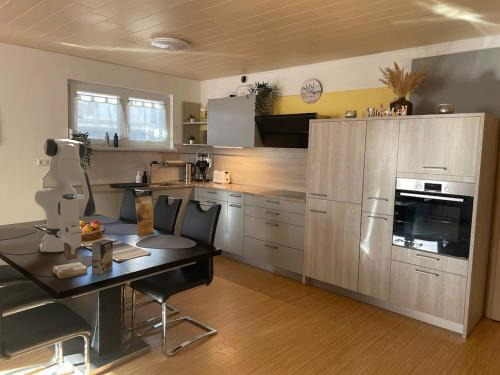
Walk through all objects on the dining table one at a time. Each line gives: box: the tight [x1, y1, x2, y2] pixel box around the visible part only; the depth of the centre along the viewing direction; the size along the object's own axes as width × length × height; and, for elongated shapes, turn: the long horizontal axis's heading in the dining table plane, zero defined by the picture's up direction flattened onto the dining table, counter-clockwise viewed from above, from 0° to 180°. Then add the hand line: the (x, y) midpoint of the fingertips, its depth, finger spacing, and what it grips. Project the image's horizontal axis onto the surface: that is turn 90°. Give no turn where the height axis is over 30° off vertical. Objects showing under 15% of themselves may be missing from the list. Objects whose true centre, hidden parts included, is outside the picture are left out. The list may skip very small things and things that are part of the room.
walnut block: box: [63, 243, 78, 261], centre depth 192 cm, size 5×5×8 cm
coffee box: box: [91, 239, 114, 275], centre depth 197 cm, size 9×6×16 cm
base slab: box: [52, 261, 88, 279], centre depth 193 cm, size 12×13×3 cm
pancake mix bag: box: [134, 195, 154, 236], centre depth 279 cm, size 7×19×28 cm, turn 151°
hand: (70, 252), depth 192 cm, fingers closed on walnut block, 5 cm apart
